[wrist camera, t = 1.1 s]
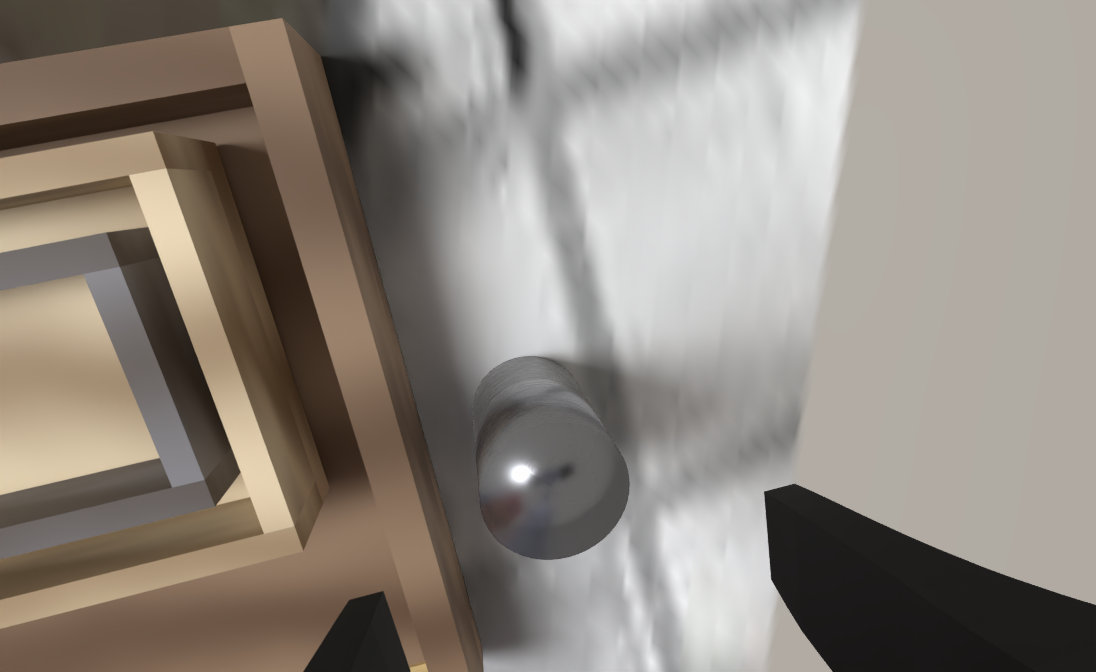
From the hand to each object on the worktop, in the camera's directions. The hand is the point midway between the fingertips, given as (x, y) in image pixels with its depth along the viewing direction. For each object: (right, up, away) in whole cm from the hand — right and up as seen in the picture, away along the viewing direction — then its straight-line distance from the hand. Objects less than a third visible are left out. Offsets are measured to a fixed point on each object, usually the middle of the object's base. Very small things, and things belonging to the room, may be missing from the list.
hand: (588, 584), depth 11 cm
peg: (-1, +2, +10) cm, 11 cm away
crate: (-16, +3, +6) cm, 18 cm away
